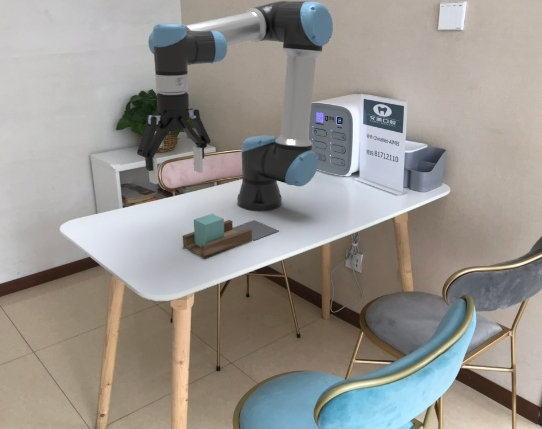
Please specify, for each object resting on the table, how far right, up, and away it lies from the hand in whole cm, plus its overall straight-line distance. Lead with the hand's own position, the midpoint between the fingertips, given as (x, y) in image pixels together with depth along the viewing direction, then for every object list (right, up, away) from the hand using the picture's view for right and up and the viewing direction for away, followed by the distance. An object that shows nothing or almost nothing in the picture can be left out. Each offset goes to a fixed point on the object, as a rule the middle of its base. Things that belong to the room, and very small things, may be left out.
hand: (177, 177), depth 136 cm
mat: (+19, -14, +26) cm, 35 cm away
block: (+7, -19, +15) cm, 25 cm away
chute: (+9, -18, +17) cm, 26 cm away
